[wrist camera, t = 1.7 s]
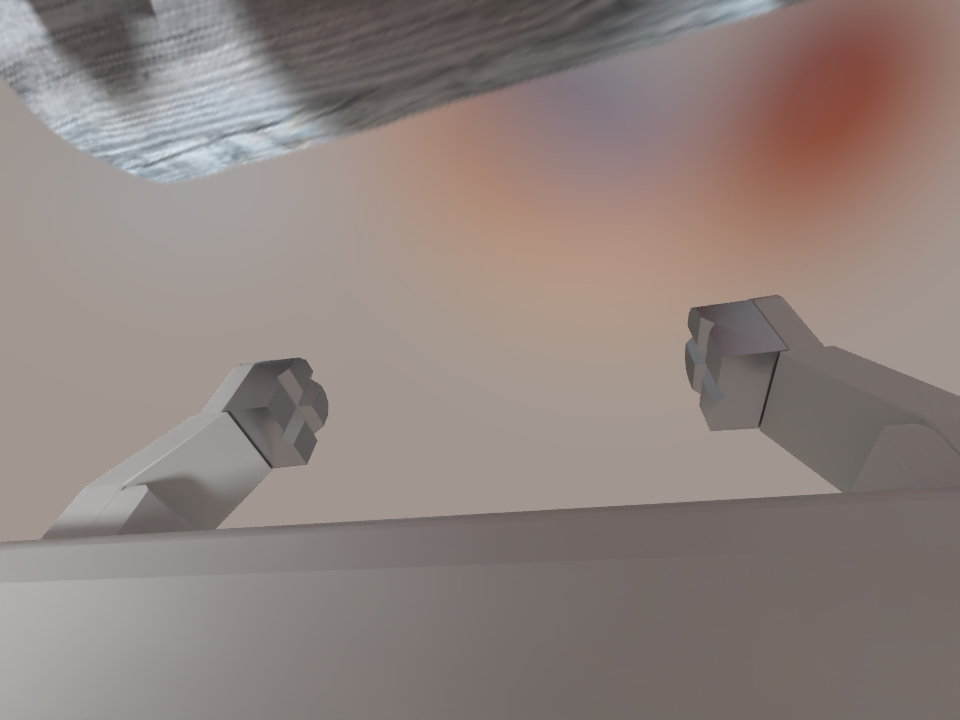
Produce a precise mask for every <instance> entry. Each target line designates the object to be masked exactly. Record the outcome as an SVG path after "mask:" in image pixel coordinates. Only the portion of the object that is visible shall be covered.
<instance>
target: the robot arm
mask: <svg viewBox="0 0 960 720" xmlns="http://www.w3.org/2000/svg"><path fill="white" fill-rule="evenodd" d="M688 328H689V330H690V332H691V334H692V338H691V339H690V340H689V341H688V342H687V343H686V349H685V363H686V371H687V375H688V379H689V382H690V384H691V387H692V389H693V390H695V391H696V392H698V393H700V394H701V396H700V404H699V405H700V408H701V410H702V413H703V415H704V417H705V420H706V422H707V424H708V426H709V429H710V431H719V430H736V429H754V428H760V431H761V432H763V433H764V434H765V435H767V436H768V437H769V438H771V439H772V440H773V441H775V442H776V443H777V444H779V445H780V446H781V447H783V448H784V449H785V450H787V451H788V452H789V453H791V454H792V455H793V456H795V457H796V458H797V459H799V460H800V461H801V462H803V463H804V464H805V465H807V466H808V467H809V468H811V469H812V470H813V471H815V472H816V473H817V474H819V475H820V476H821V477H823V478H824V479H825V480H827V481H828V482H829V483H831V484H832V485H833V486H835V487H836V488H838V489H839V490H840V491H841V492H843V493H834V494H818V495H799V496H782V497H764V498H747V499H731V500H714V501H697V502H680V503H679V502H678V503H661V504H643V505H626V506H609V507H594V508H593V507H592V508H574V509H557V510H540V511H523V512H505V513H489V514H472V515H455V516H438V517H420V518H403V519H385V520H369V521H352V522H333V523H316V524H300V525H282V526H264V527H249V528H248V527H247V528H230V529H216V528H217V527H218V526H219V525H220V524H221V523H222V522H223V521H224V520H225V518H227V517H228V515H229V514H230V513H231V512H232V511H233V510H234V509H235V508H236V507H237V506H238V505H239V504H240V503H241V502H242V501H243V500H244V499H245V498H246V497H247V496H248V495H249V494H250V493H251V492H252V491H253V490H254V489H255V488H256V487H257V486H258V484H259V483H260V482H261V481H262V480H263V479H264V478H265V477H266V476H267V475H268V474H269V473H270V472H271V471H272V468H280V467H289V466H298V465H307V463H308V461H309V459H310V456H311V454H312V452H313V450H314V447H315V445H316V443H317V439H316V437H315V433H316V432H317V431H318V430H319V429H320V428H322V427H323V426H324V424H325V421H326V419H327V416H328V400H327V397H326V393H325V391H324V390H323V388H322V386H321V385H319V384H318V383H316V382H314V381H313V380H312V379H311V377H312V373H313V370H312V369H311V367H310V366H309V364H308V362H307V361H306V360H304V359H301V358H290V359H281V360H271V361H262V362H254V363H246V364H240V365H238V366H235V367H234V368H233V369H232V370H231V372H230V373H229V375H228V376H227V377H226V379H225V380H224V381H223V383H222V384H221V385H220V387H219V388H218V389H217V391H216V392H215V394H214V395H213V396H212V398H211V399H210V400H209V402H208V403H207V405H206V406H205V407H204V409H203V410H202V411H201V413H200V414H199V415H194V416H191V417H190V418H188V419H187V420H185V421H184V422H183V423H181V424H179V425H178V426H176V427H175V428H173V429H172V430H170V431H169V432H167V433H166V434H164V435H163V436H161V437H160V438H158V439H157V440H155V441H154V442H152V443H151V444H149V445H148V446H146V447H145V448H143V449H142V450H140V451H139V452H137V453H136V454H134V455H133V456H131V457H130V458H128V459H127V460H125V461H124V462H122V463H121V464H119V465H118V466H116V467H115V468H113V469H112V470H110V471H109V472H107V473H106V474H104V475H103V476H101V477H100V478H98V479H97V480H95V481H94V482H92V483H91V484H89V485H88V486H86V487H85V488H84V489H83V490H82V491H81V492H80V493H79V494H78V496H77V497H76V498H75V499H74V500H73V501H72V503H71V504H70V505H69V506H68V507H67V509H66V510H65V511H64V512H63V513H62V514H61V516H60V517H59V518H58V519H57V520H56V522H55V523H54V524H53V525H52V526H51V527H50V529H49V530H48V531H47V532H46V534H44V536H43V537H42V538H41V539H40V540H26V541H25V540H24V541H7V542H0V720H960V396H958V395H955V394H953V393H950V392H948V391H945V390H943V389H940V388H938V387H935V386H933V385H930V384H928V383H925V382H923V381H920V380H918V379H915V378H913V377H910V376H908V375H905V374H903V373H900V372H898V371H896V370H893V369H890V368H888V367H886V366H883V365H881V364H878V363H876V362H873V361H871V360H868V359H866V358H863V357H861V356H858V355H856V354H853V353H851V352H848V351H846V350H843V349H841V348H838V347H836V346H828V347H824V346H823V344H822V343H821V342H820V341H819V340H818V338H817V337H816V336H815V335H814V334H813V333H812V331H811V330H810V329H809V328H808V327H807V325H806V324H805V323H804V322H803V321H802V320H801V318H800V317H799V316H798V315H797V314H796V312H795V311H794V310H793V309H792V308H791V306H790V305H789V304H788V303H787V302H786V301H785V299H784V298H783V297H781V296H779V295H773V296H766V297H760V298H753V299H748V300H745V301H737V302H730V303H723V304H716V305H709V306H701V307H694V308H691V310H690V312H689V317H688Z"/></svg>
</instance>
